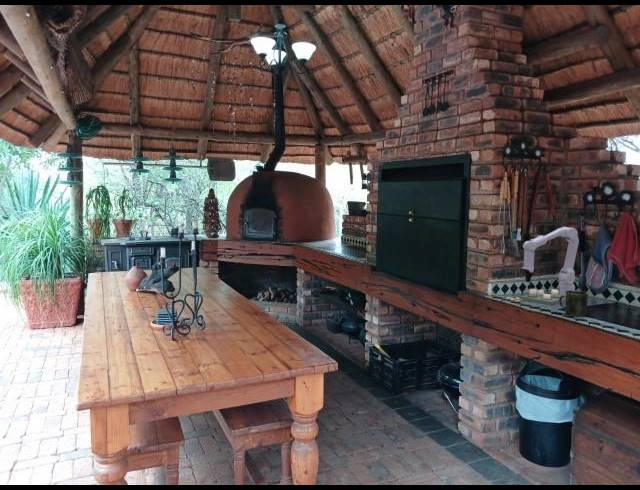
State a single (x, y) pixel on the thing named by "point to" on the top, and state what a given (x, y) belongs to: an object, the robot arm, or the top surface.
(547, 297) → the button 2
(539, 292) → the beige cylinder
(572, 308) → the mug
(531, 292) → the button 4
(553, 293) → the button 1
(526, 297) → the grey-green board with holes
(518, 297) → the tile
